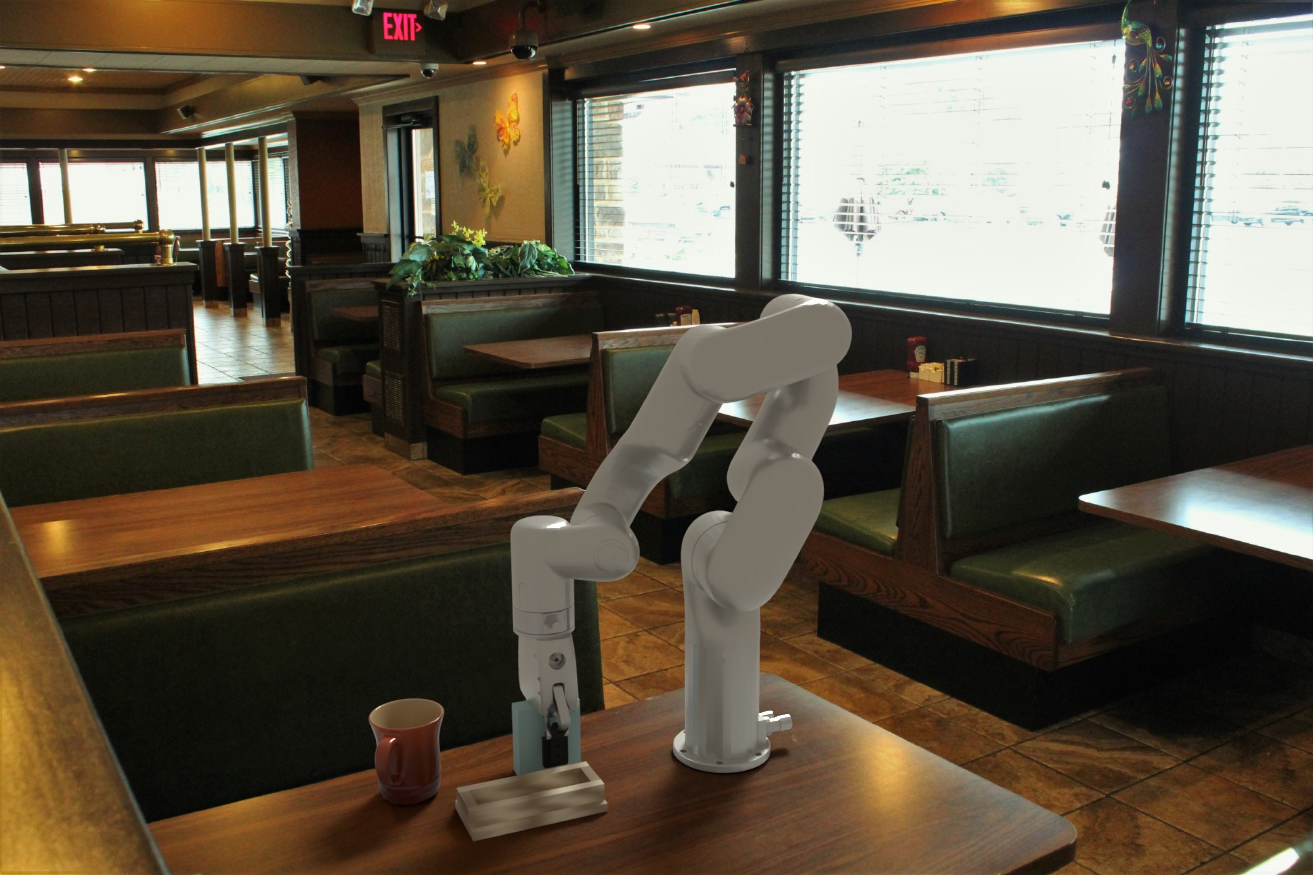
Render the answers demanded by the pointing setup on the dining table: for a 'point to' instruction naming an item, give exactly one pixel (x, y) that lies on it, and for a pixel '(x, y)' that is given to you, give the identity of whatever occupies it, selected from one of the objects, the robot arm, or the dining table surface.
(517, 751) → the door panel
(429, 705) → the mug
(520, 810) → the pale wooden tray
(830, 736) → the dining table surface
